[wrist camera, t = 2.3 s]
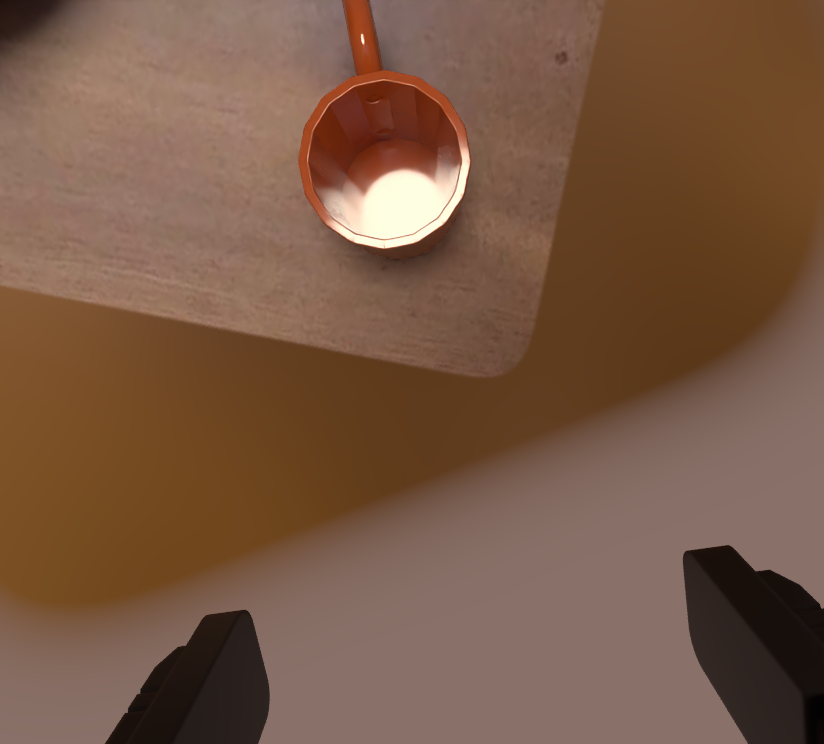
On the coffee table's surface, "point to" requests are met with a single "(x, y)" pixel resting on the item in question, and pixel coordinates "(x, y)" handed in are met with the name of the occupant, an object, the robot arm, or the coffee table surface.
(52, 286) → the coffee table surface
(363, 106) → the mug
